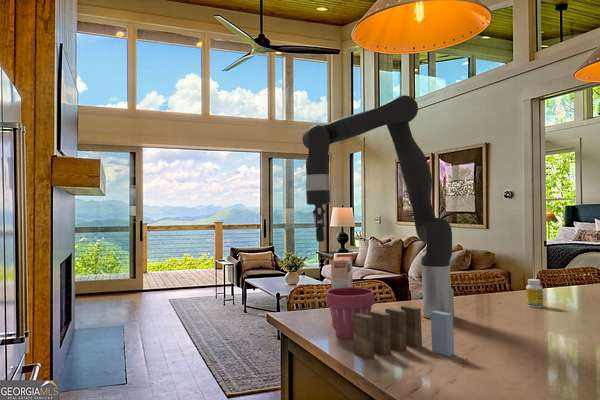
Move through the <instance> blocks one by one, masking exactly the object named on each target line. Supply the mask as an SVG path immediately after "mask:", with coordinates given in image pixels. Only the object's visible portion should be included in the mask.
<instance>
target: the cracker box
mask: <svg viewBox="0 0 600 400" xmlns="http://www.w3.org/2000/svg"><path fill="white" fill-rule="evenodd" d="M330 266H331V268H330V272H331V275H330V276H331V277H330V278H331V289H334V288H343V287H354V283H353V281H354V280H353V278H354V277H353V257H352V256H336V257H335V258H333V259H332V260H331V261H330ZM331 324H332V325H331V326H332V327H334V324H333V320H332V319H331Z"/></svg>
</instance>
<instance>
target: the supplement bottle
mask: <svg viewBox="0 0 600 400" xmlns="http://www.w3.org/2000/svg"><path fill="white" fill-rule="evenodd" d="M540 284H541V280H540V279H538V278H537V279H535V278H528V279H527V285H526V287H525V292H526V306H527V307H529V308H543V307H544V292H543V290H544V289H543V286H542V285H540Z"/></svg>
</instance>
